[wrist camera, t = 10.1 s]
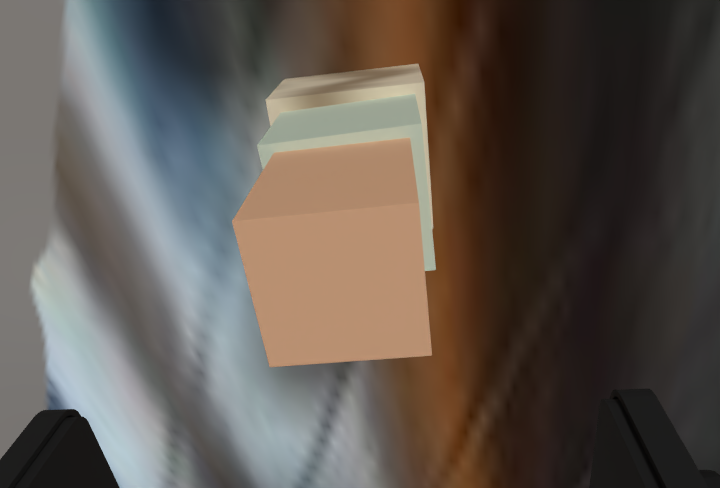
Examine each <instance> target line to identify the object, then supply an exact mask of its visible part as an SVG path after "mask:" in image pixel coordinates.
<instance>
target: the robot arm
mask: <svg viewBox="0 0 720 488" xmlns="http://www.w3.org/2000/svg"><path fill="white" fill-rule="evenodd" d="M0 488H119V486H118V484H117V481H116V479H115V477H114V475H113V473H112V471H111V469H110V467H109V465H108V462H107V460H106V458H105V456H104V454H103V452H102V450H101V448H100V446H99V443H98V441H97V439H96V437H95V435H94V433H93V431H92V429H91V427H90V425H89V422H88V421H87V419H86V418H84V417H81V415H80V414H79V412H78V411H76V410H74V409H67V410H43V411H41V412H40V413H38V414H37V415H36V416H35V417H34V418H33V419H32V420H31V422H30V423H29V424H28V425H27V427H26V428H25V430H23V432H22V433H21V434H20V436H19V437H18V438H17V439H16V441H15V442H14V443H13V444H12V446H11V447H10V448H9V449H8V451H7V452H6V453H5V455H4V456H3V457H2V458H1V460H0ZM589 488H720V475H718V474H717V473H716V472H715V471H711V470H698V468H697V466H696V465H695V463H694V461H693V460H692V458H691V456H690V454H689V453H688V451H687V449H686V447H685V446H684V444H683V442H682V440H681V439H680V437H679V435H678V434H677V432H676V430H675V428H674V427H673V425H672V423H671V421H670V420H669V418H668V416H667V414H666V413H665V411H664V409H663V407H662V406H661V404H660V402H659V401H658V399H657V397H656V395H655V394H654V393H653V391H652V390H650V389H626V390H613V391H612V392H611V396H610V399H602V400H601V401H600V406H599V414H598V422H597V430H596V439H595V447H594V455H593V463H592V471H591V479H590V487H589Z"/></svg>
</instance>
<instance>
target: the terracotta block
mask: <svg viewBox="0 0 720 488" xmlns="http://www.w3.org/2000/svg"><path fill="white" fill-rule="evenodd" d="M232 223H233V226H234V230H235V234H236V238H237V242H238V246H239V250H240V254H241V258H242V261H243V265H244V269H245V273H246V277H247V281H248V285H249V289H250V292H251V296H252V300H253V304H254V308H255V312H256V316H257V320H258V323H259V327H260V331H261V335H262V339H263V343H264V347H265V351H266V355H267V358H268V362H269V366H270V367H279V366H293V365H307V364H321V363H334V362H348V361H362V360H376V359H389V358H403V357H417V356H431V355H432V351H431V339H430V327H429V315H428V304H427V292H426V280H425V268H424V256H423V245H422V233H421V221H420V209H419V199H418V192H417V185H416V177H415V170H414V163H413V155H412V148H411V141H410V138H401V139H392V140H383V141H374V142H365V143H356V144H347V145H338V146H329V147H320V148H311V149H302V150H293V151H285V152H276V153H273V155H272V156H271V158H270V160H269V161H268V163H267V165H266V166H265V168H264V170H263V171H262V173H261V174H260V176H259V178H258V179H257V181H256V183H255V184H254V186H253V188H252V189H251V191H250V193H249V194H248V196H247V198H246V199H245V201H244V203H243V204H242V206H241V207H240V209H239V211H238V212H237V214H236V216H235V217H234V219H233V221H232Z"/></svg>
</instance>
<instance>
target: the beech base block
mask: <svg viewBox="0 0 720 488" xmlns="http://www.w3.org/2000/svg"><path fill="white" fill-rule="evenodd" d="M409 94H415V96H416V100H417V105H418V109H419V114H420V118H421V123H422V133H423V143H424V153H425V163H426V174H427V184H428V194H429V204H430V215H431V225H432V228H433V216H432V200H431V184H430V168H429V152H428V136H427V120H426V104H425V88H424V80H423V77H422V74H421V71H420V68H419V65H418V64H412V65H403V66H394V67H386V68H377V69H368V70H359V71H351V72H342V73H333V74H325V75H316V76H307V77H298V78H290V79H284V80H283V81H282V82H281V83H280V84H279V85H278V87H277V88H276V89H275V90H274V91H273V92H272V93H271V94H270V96H269V97H268V98H267V99H266V105H267V110H268V115H269V120H270V125H271V126H272V124H273V123H274V121H275V120H276V119H277V117H278V116H279V114H280V113H281V112H287V111H295V110H302V109H309V108H316V107H323V106H330V105H337V104H344V103H352V102H359V101H366V100H373V99H380V98H387V97H394V96H401V95H409Z"/></svg>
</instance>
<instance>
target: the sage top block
mask: <svg viewBox="0 0 720 488" xmlns="http://www.w3.org/2000/svg"><path fill="white" fill-rule="evenodd" d="M401 138H410V141H411V148H412V155H413V163H414V170H415V177H416V185H417V192H418V199H419V209H420V221H421V233H422V245H423V256H424V268H425V271H429V270H436V266H435V256H434V245H433V235H432V225H431V215H430V204H429V194H428V184H427V174H426V163H425V153H424V143H423V133H422V123H421V118H420V114H419V109H418V105H417V100H416V96H415V94H409V95H401V96H394V97H387V98H380V99H373V100H366V101H359V102H352V103H344V104H337V105H330V106H323V107H316V108H309V109H302V110H295V111H287V112H281V113H280V114H279V116H278V117H277V119H276V120H275V121H274V123H273V124H272V126H271V127H270V128H269V130H268V131H267V133H266V134H265V135H264V137H263V138H262V139H261V141H260V142H259V144H258V145H257V147H258V151H259V156H260V160H261V164H262V168H263V170H264V168H265V166H266V165H267V163H268V161H269V160H270V158H271V156H272V155H273V153H276V152H285V151H293V150H302V149H311V148H320V147H329V146H338V145H347V144H356V143H365V142H374V141H383V140H392V139H401Z"/></svg>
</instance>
